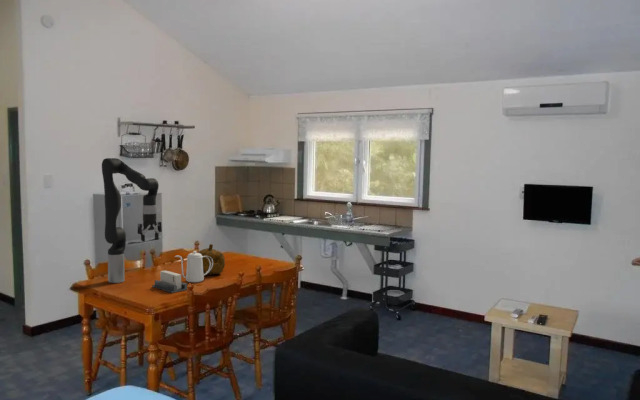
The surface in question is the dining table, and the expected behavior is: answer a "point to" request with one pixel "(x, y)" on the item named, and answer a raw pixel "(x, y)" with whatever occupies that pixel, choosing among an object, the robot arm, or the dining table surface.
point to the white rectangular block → (171, 278)
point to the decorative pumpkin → (217, 260)
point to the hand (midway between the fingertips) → (149, 240)
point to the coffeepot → (195, 267)
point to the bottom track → (169, 286)
